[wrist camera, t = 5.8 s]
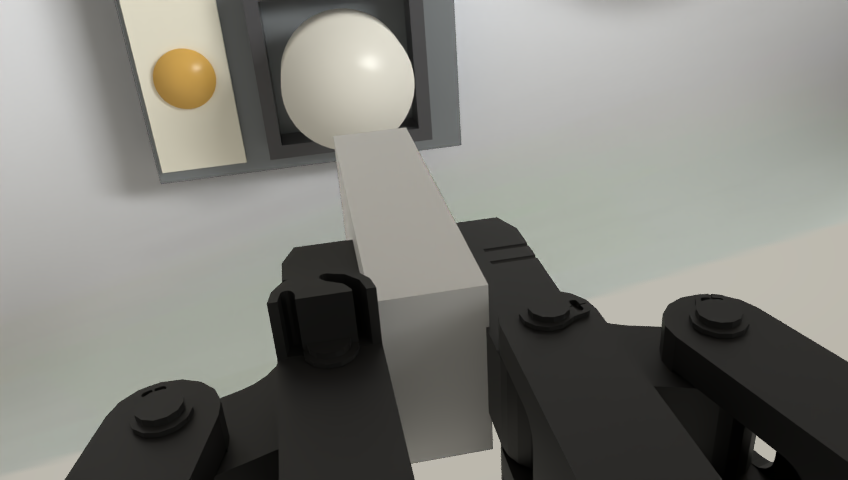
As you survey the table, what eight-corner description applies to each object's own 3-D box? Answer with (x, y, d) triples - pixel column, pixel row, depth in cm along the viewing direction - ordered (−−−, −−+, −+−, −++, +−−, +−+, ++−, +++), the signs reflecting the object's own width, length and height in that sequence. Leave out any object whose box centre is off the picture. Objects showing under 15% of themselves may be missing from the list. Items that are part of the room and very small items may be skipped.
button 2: (400, 1, 25) (409, 11, 24) (410, 124, 27) (419, 142, 26) (271, 15, 25) (270, 26, 23) (291, 139, 27) (291, 158, 25)
